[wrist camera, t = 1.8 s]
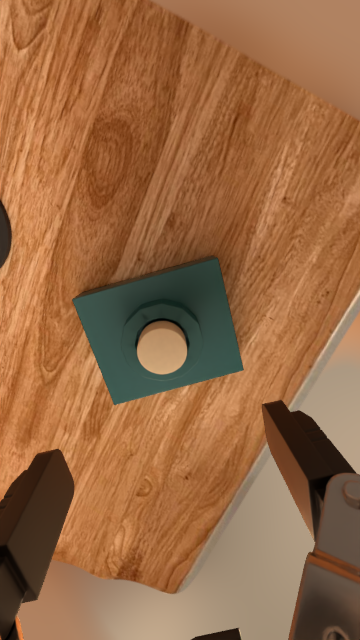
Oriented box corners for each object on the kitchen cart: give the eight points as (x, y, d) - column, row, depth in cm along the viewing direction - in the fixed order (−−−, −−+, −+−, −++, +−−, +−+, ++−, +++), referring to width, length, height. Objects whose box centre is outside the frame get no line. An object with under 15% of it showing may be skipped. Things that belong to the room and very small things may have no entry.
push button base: (212, 255, 27) (222, 259, 22) (237, 358, 30) (249, 379, 26) (80, 292, 27) (64, 304, 23) (118, 390, 30) (111, 416, 26)
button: (178, 314, 24) (179, 322, 22) (190, 356, 25) (192, 367, 23) (132, 327, 24) (130, 335, 22) (147, 368, 25) (145, 380, 23)
